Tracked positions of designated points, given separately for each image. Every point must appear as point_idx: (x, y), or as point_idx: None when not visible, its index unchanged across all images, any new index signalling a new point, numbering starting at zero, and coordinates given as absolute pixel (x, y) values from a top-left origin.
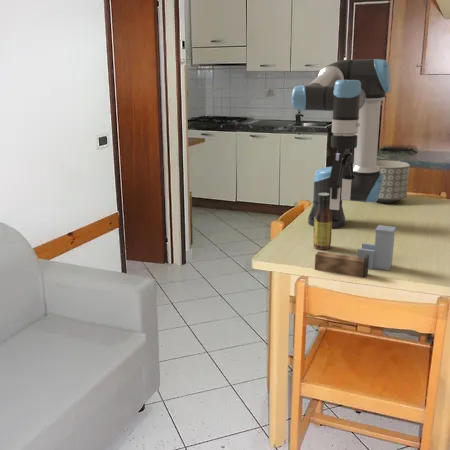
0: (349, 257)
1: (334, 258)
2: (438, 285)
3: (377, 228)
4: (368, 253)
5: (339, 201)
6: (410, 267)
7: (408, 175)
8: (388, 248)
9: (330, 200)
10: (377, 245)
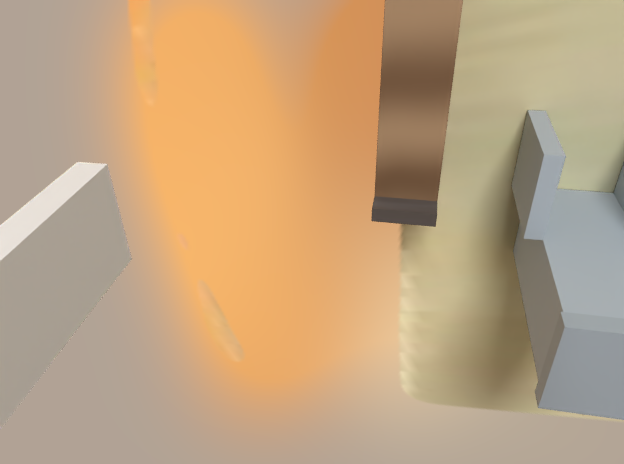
0: (420, 117)
1: (383, 30)
2: (408, 387)
3: (594, 337)
4: (527, 204)
5: (69, 325)
6: None
7: None
8: (530, 314)
9: (5, 230)
10: (545, 272)
